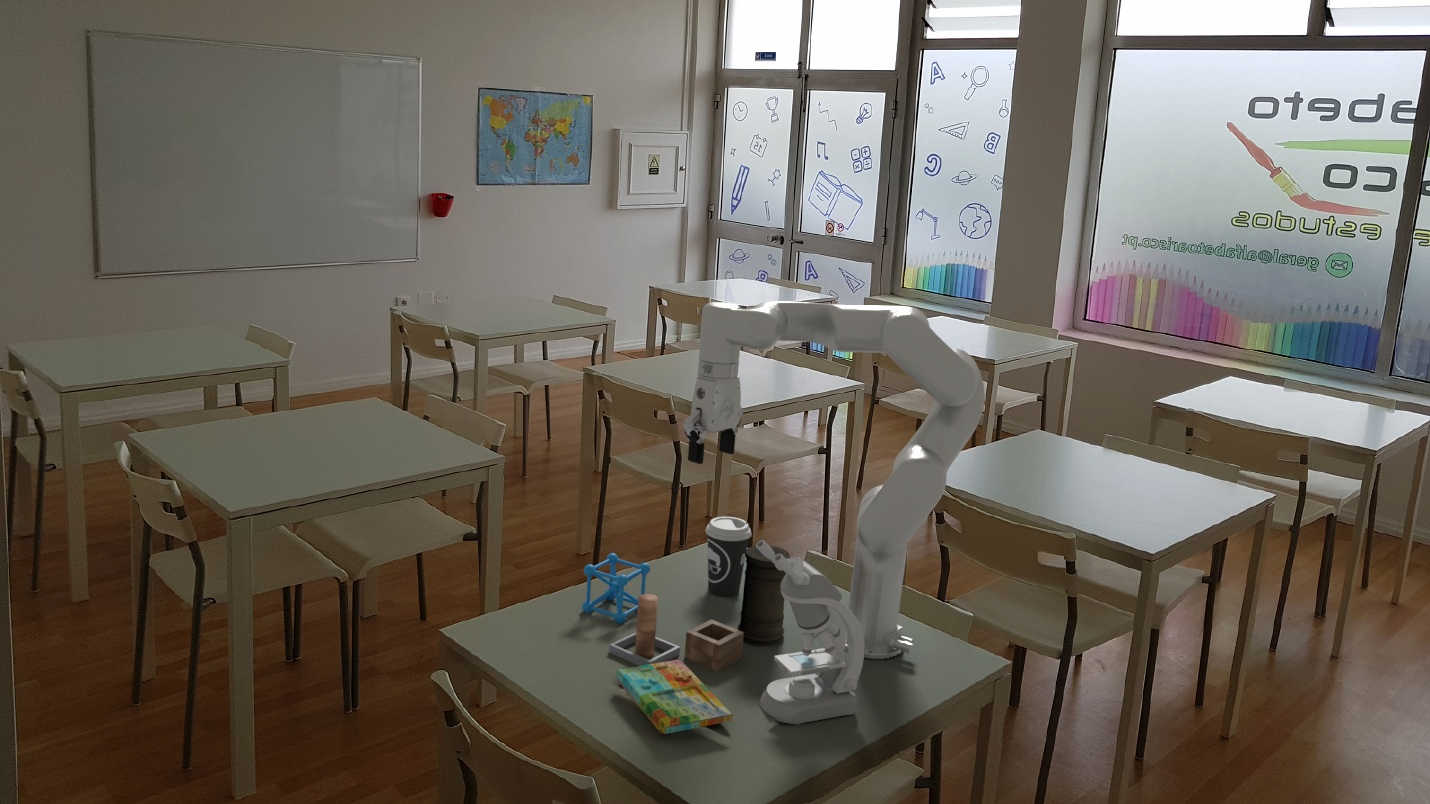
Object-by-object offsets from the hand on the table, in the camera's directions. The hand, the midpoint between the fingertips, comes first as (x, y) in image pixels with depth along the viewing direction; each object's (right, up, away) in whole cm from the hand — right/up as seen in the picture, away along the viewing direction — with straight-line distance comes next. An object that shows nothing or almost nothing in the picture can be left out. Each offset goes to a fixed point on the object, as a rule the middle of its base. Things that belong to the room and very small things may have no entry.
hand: (711, 457), depth 214 cm
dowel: (-12, -35, -10) cm, 38 cm away
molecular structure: (-19, -31, +9) cm, 37 cm away
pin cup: (0, -37, -9) cm, 38 cm away
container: (+9, -35, +1) cm, 36 cm away
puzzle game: (-7, -41, -27) cm, 50 cm away
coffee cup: (+3, -29, +23) cm, 37 cm away
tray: (-12, -36, -10) cm, 39 cm away
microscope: (+15, -42, -23) cm, 50 cm away
